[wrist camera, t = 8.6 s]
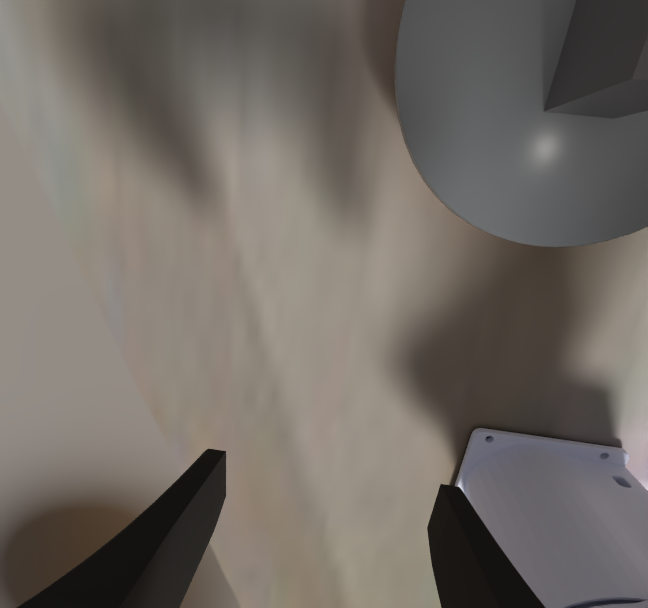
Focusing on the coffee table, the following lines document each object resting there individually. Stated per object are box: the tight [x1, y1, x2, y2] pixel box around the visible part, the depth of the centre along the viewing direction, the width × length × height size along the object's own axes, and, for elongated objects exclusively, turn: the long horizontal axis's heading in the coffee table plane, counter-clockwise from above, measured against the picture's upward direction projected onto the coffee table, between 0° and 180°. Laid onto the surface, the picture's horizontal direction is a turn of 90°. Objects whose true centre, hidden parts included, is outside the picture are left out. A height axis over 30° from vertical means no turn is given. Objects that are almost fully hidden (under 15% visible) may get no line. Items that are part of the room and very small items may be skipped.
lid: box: [394, 0, 648, 247], centre depth 9 cm, size 13×13×5 cm
